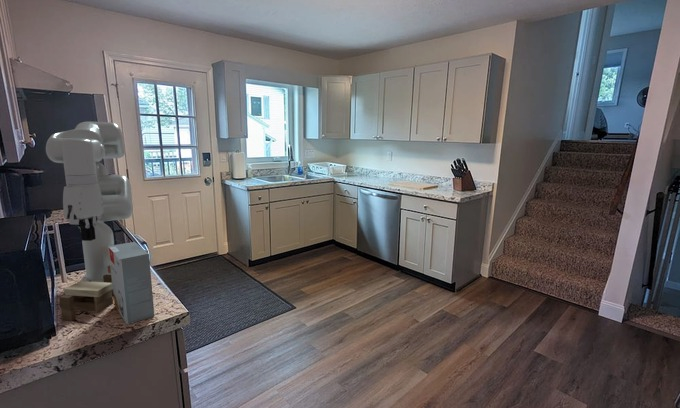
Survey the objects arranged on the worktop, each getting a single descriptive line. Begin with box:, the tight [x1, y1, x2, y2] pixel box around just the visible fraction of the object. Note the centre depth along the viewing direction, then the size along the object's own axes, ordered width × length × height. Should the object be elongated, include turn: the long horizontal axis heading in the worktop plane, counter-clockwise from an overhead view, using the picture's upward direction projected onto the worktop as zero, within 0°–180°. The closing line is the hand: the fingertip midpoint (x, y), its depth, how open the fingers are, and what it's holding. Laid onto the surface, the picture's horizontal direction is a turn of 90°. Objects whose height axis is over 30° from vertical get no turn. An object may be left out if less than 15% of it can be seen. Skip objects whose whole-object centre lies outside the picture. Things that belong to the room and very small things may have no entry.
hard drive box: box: [108, 241, 155, 325], centre depth 101 cm, size 16×8×20 cm, turn 45°
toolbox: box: [58, 274, 114, 322], centre depth 104 cm, size 17×10×7 cm, turn 175°
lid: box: [63, 280, 113, 297], centre depth 104 cm, size 6×11×2 cm, turn 85°
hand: (88, 239), depth 103 cm, fingers closed
